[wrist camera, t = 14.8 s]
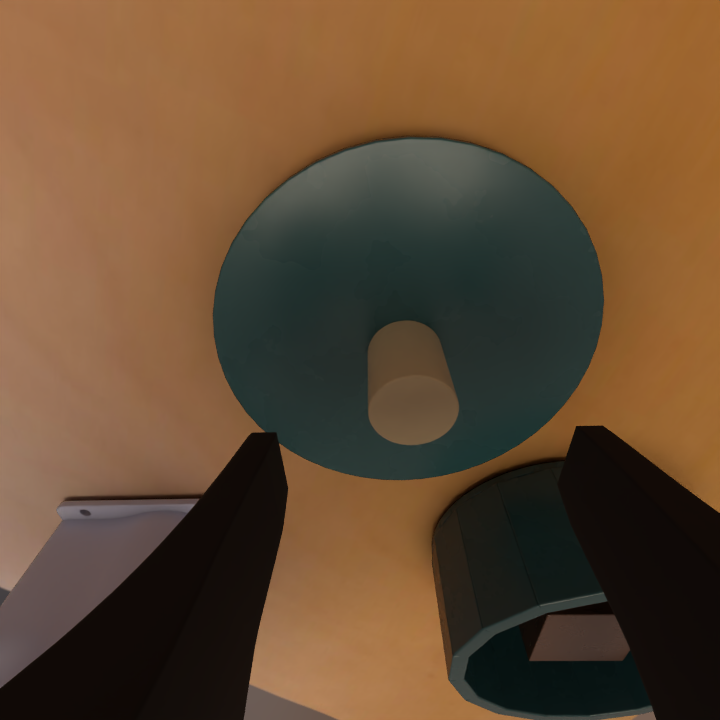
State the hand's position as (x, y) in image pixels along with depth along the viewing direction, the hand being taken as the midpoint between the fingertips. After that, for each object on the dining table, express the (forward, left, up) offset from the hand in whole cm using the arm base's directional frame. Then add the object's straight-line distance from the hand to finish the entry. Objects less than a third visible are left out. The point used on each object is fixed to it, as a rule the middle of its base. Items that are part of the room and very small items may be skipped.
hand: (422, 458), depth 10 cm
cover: (0, 0, -6) cm, 6 cm away
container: (+8, -13, -6) cm, 16 cm away
